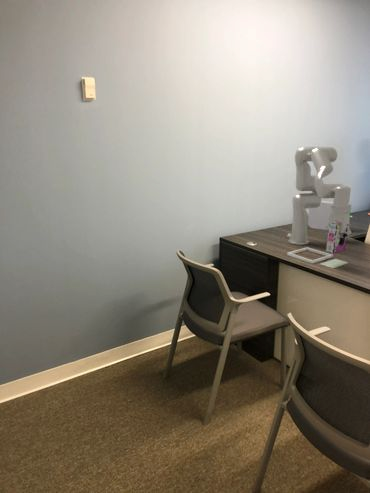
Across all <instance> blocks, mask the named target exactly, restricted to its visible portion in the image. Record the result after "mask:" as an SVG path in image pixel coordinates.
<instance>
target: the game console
mask: <svg viewBox="0 0 370 493" xmlns="http://www.w3.org/2000/svg"><path fill="white" fill-rule="evenodd" d="M333 203H334V201H327V200H321V204H320V206H319V207H318V208H308V228H310V229H315V230H325V231H328V230H327V229H326V226H327V225H328V221H329V217H330V213H331V212H332V211H333V209H331V207H332V206H333ZM351 210H352V203H351V202H349V208H348V211H349V213H350V214H351Z"/></svg>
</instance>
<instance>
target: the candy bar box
mask: <svg viewBox="0 0 370 493" xmlns="http://www.w3.org/2000/svg"><path fill="white" fill-rule="evenodd" d="M339 230H340V223H338V222H329V229H328V230H327V239H326V248H325V253H329V254H332V255H334V254H337V253H339V252H343V251H346V247H347V239H348V236H346V237H345V241H344V244H343V245H339V242H340V238H341V233H339ZM346 233H347V232H346Z"/></svg>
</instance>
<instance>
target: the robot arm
mask: <svg viewBox="0 0 370 493" xmlns="http://www.w3.org/2000/svg"><path fill="white" fill-rule="evenodd" d="M337 159H338V152H337V150H336V148H334V147H329V146H304V147H300V148H298V149H297V150H296V151H295V154H294V163H295V168H296V172H295V189H296V190H297V191H298V192H304V193H297V194H295V195H293V197H292V200H291V201H292V224H291V226H292V227H291V233H290V232H289V233H287V235H286V237H288V238H289V239H288V243H290V244H291V245H292V244H293V245H298V246H300V245H301V246H305V245H308V244H310V243H309V242H310V241H309V239H307V237H308V228H309V225H308V218H309V212H307V210H306V209H308V210H309V208H318V207H319V206H320V204H321V201H322V199H333V202H334V203H333V206H332V207H331V209H333V211H332V212H331V213H330V217H329V221H328V225H327V226H326V229H327V230H326V231H328V229H329V222H338V223H340V230H339V233H341V238H340V242H339V245H343V244H344V241H345V237H346V236H347V237H348V236H350V235H351V234H352V231H351V228H350V219H349V213H348V208H349V203H350V200H351V199H350V198H351V191H352V189H351V187H350V186H347V185H344V184H342V183H324V181H323V178H325V177H327V176H329V175H330V174H331V173H333V170H334V166H333V164H332V163H334V162H336V161H337ZM309 162H312V163H313V166H314V168H315V171H316V174H315V175H313V174H311V173H312V168H311V165H310V163H309ZM305 192H306V193H305ZM307 192H308V193H307ZM346 232H347V233H346Z"/></svg>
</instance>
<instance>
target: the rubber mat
mask: <svg viewBox="0 0 370 493" xmlns="http://www.w3.org/2000/svg"><path fill="white" fill-rule="evenodd" d="M347 264H349V262H348V261H344V260H342V259H338V258H333V259H330V260H328V261H327V260H326V261H325V262H321V263H319V265H321V266H323V267H327V268H329V269H331V270H333V269H336V268H339V267H342V266H344V265H347Z"/></svg>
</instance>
